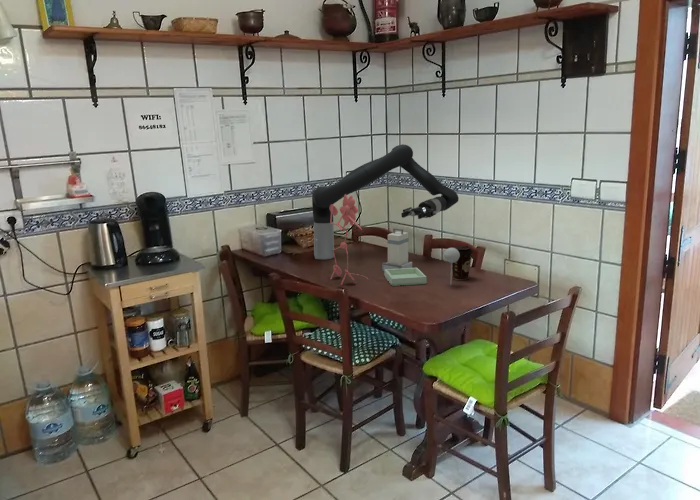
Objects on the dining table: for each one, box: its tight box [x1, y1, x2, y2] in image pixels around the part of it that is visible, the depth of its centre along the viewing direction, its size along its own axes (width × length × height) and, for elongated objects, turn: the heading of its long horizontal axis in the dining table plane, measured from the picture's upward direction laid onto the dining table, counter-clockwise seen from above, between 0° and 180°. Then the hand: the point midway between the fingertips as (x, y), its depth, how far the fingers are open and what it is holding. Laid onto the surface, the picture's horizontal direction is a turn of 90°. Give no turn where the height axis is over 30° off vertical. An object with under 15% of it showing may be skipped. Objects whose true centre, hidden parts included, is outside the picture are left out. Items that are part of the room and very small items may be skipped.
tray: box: [383, 267, 428, 287], centre depth 221 cm, size 14×14×3 cm
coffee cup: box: [452, 245, 474, 281], centre depth 222 cm, size 9×8×13 cm
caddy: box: [387, 227, 409, 266], centre depth 235 cm, size 8×6×18 cm
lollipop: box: [443, 247, 460, 286], centre depth 213 cm, size 6×6×15 cm
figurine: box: [329, 194, 369, 286], centre depth 219 cm, size 15×26×35 cm, turn 29°
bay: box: [381, 261, 413, 272], centre depth 236 cm, size 10×9×4 cm
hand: (410, 216), depth 239 cm, fingers open, 8 cm apart
